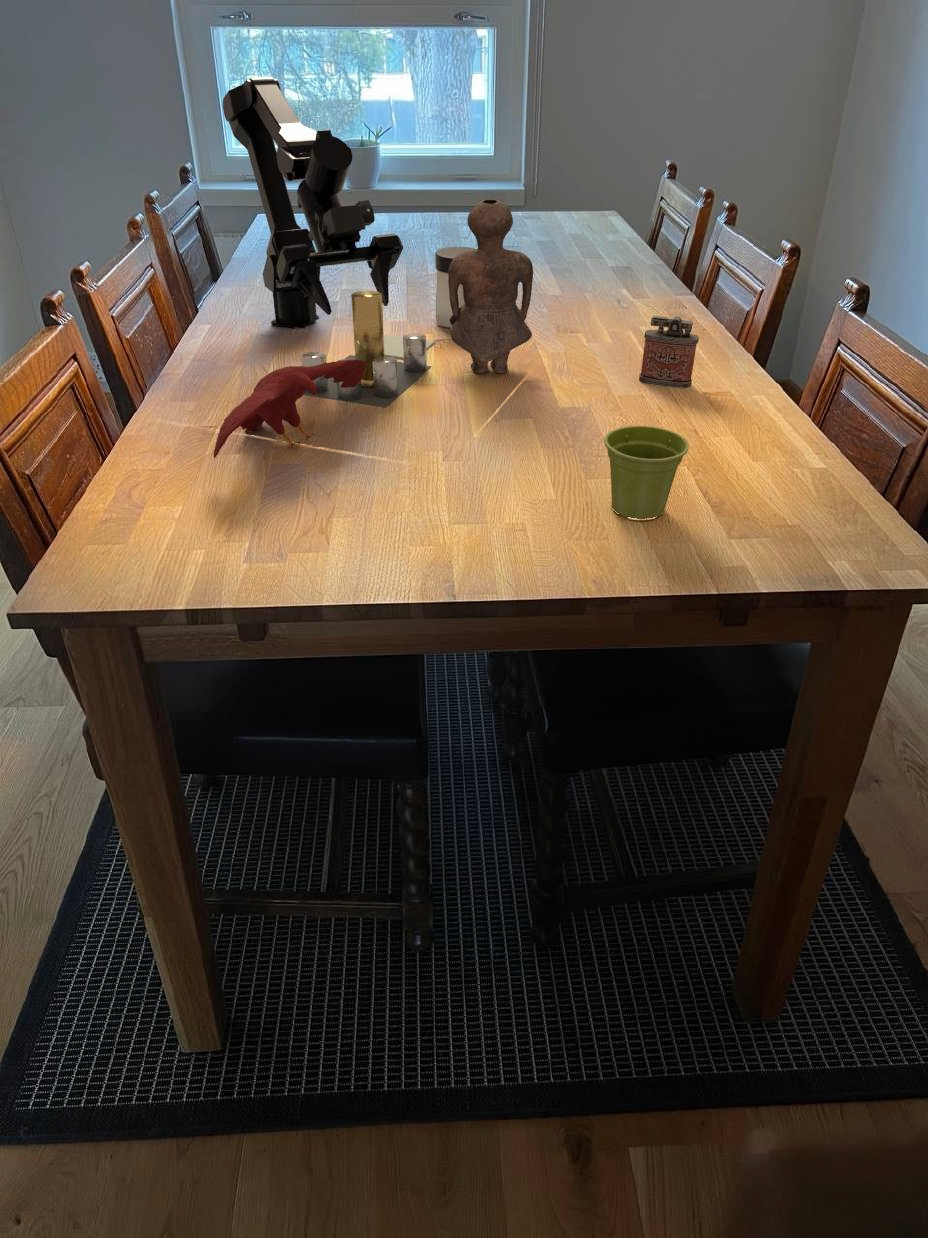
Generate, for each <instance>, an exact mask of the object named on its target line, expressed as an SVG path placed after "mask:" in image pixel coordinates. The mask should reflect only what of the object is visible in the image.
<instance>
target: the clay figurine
mask: <svg viewBox="0 0 928 1238" xmlns="http://www.w3.org/2000/svg"><path fill="white" fill-rule="evenodd" d="M466 219H467V226H468V229H469V230H470V232H472V235H474V237H475V239H476V243H477V248H476V249H477V250H473V251H467V252H463V253H460V254H458V255H457V256H456V257H455V258H454V259H453V260H452V262H451V264H450V266H449V272H448V284H449V298H450V305H451V309H452V313H453V315H452V316H451V318H450V323H451V324H452V327H451V328H450V330H449V331H450V338H451V340H452V342H453V343H454V344H455V345H457V346H458V347H460V348H461V349H462V350H463V351H466V352H467V353H469V354H470V357H471V360H472V363H471V364H470V368H471V370H472V371H473V372H474V373H476V374H484V373H487V372H488V371H489V364H490V366H491V367H492V368H493V373H495V374H505V373H507V372H508V359H509V356H510V353H511V351H512V350H514V349H516V348H518V347H519V346H521V345H523V344H525V343H527V342H528V341H529V340H531V338H532V337H533V332H532V330H531V329H530V327H529V326H528V325H527V323H526V321H525V320H526V319H527V316H528V312H529V308H530V305H531V300H532V298H531V297H532V291H533V289H532V288H533V280H534V267H533V263H532V261H531V259H530V257H528V255H526V254H525V253H523V252H521V251H517V250H510V249H506V248H505V247H504V240H505V238H506V236H507V234H508V233H509V232H510V231H511V229H512V226H513V224H514V219H513V214H512V212H511V210H510V208H509V206H508V205H506V204H505V203H504V202H502V201H501V200H498V199H494V198H492V199H489V198H488V199H484V200H481V201H479V202H478V203H476V204H475V205H474V206H473V207H472V208H471V209H470V212H469V214H468V215H467V218H466ZM520 283H521V285H522V296H521V297H522V298H521V306H520V307H521V308H519V307H518V305H517V299H518V296H519V291H518V290H519V284H520ZM460 284H462V286H463V297H464V302H465V303H464V305H463V306H462V307H460V308H459V299H458V287H459V285H460ZM489 362H490V363H489Z"/></svg>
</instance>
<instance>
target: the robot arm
mask: <svg viewBox="0 0 928 1238" xmlns="http://www.w3.org/2000/svg"><path fill="white" fill-rule="evenodd" d="M222 111H223V115H224V118H225V120H226V122H227V123H229V127H230V129H231V132H232V134H233V135H232V136H233V137H234V138H235V139H236V140H237V142H238V143H240V144H241V145H242V146H243V148H244V149H246V150H247V154H248V157H249V160H250V161H249V162H250V164H251V167H252V170H253V171H252V172H253V175H254V179H255V181H256V182H255V183H256V186H257V189H258V193H259V197H260V199H261V204H262V207H263V210H264V213H265V217H266V221H267V225H268V228H269V232H270V236H269V240H268V244H267V248H266V250H265V251H266V260H265V263H264V267H263V269H262V270H263V271H262V278H263V279H262V280H263V283H264V286H265V288H267V290H268V291H271V293H272V301H273V308H274V309H273V310H274V317H275V318H274V319H273V320H271V321H270V324H271V325H272V326H280V327H285V328H292V329H294V328H297V329H304V328H306V327H307V326H309V325H311V324H313V323H314V322H315V321H317V320H319V319H320V316H319V315H317V306H318V307H319V308H320V309H321V310H322V311H323V312H324V313H325V314H326V315H328V316H331V315H332V314H331V313H332V307H331V303H330V301H329V298H328V296H327V294H326V291H325V288H324V286H323V284H322V281H321V267H328V266H338V265H339V266H340V265H345V264H353V263H361V262H366V263H367V266H368V268H369V269H371V271H370V273H369V275H370V279H371V281H372V282H373V285H374V287H375V291H376V292H379V293H381V294H382V306H383V307H387V306H388V305H389V301H390V300H389V298H390V297H389V295H390V294H389V290H390V289H389V273H390V271H391V270H392V269H393V268H395V266H396V264H397V262H398V260H399V258H400V256H401V254H402V252H403V250H404V244H403V242H402V239H401V238H400V237H399V235H397V234H395V233H388V234H386V233H385V234H378V235H373V236H372V238H371V241H370V243H369V245H368V246H361V247H357V244H356V243H359V242H360V240H361V236H362V235H361V234H360V232H361V231H362V230H366V226H371V225H372V224H373V223H374V222H375V218H376V216H375V213H374V209H373V206H372V204H371V202H370V200H369V199H367V200H366V199H363V200H358V201H357V202H356V203H354V205H345V206H342V204H341V202H340V199H339V196H338V194H339V193H340V192H341V191H343V189H344V187H345V183H346V180H347V177H348V173H349V170H350V168H351V165H352V162H353V152H352V148H351V147H350V146H348V144H347V143H346V142H345V141H343V140H341V139H340V138H338V137H336V136H334V135H333V133H332V132H331V131H332V130H331V129H323V130H321V129H320V130H319V129H318V130H317V131H316V130H315V129H312V128H310V127H307V126H304V125H303V124H302V122H301V120H300V119H299V117H298V116H297V114H296V113H295V111H294V110H293V108H292V106H291V105H290V103H289V102H288V100H287V99H286V97H285V96H284V94H283V92H282V89H281V85H280V81H279V80H278V79H277V78H273V77H272V76H269V77H249V79H246V80H244V82H243V83H242V84H239V85H238V86H236V87H234V88H231V89H229V90H228V91H227V92H226V93H225V95H224V97H223V99H222ZM275 144H276V145H275ZM276 146H277V148H276ZM285 180H286V181H288V182H295V181H297V182H298V181H301V182H300V183H299V184H298V187H297V190H296V195H297V207H298V208H299V209H302V212H303V214H304V217H305V220H306V222H307V226H308V228H307V227H306V228H302V227H301V226H300V225H299V224H298V223H297V220H296V217H295V213H294V209H293V205H292V201H291V199H290V195H289V192H288V187H287V184H286V181H285ZM313 242H314V243H313ZM314 245H315V247H314Z"/></svg>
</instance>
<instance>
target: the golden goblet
mask: <svg viewBox="0 0 928 1238" xmlns="http://www.w3.org/2000/svg"><path fill="white" fill-rule="evenodd" d="M350 295H351V311H352V313H351V315H352V327H353V328H352V329H353V345H354V356H355V360H362V361H364V362H366V363H367V366H366V369H365V371H364V374H363V376H362V378H361V385H362V388H366V389H374V383H373V363H372V361H373V359H375V358H378V357H385V355H384V336H385V334H384V311H383V310H384V309H383V303H382V294H381V293H379V292H377V290H358V291H356V292H353V293H352V294H350Z"/></svg>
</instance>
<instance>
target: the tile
mask: <svg viewBox="0 0 928 1238" xmlns="http://www.w3.org/2000/svg"><path fill="white" fill-rule="evenodd" d="M434 344H435V341H434V340H429V339H426V351H427V350H428V349H429V348H431V347H432V346H433V345H434ZM384 355H385V357H393V358H395V359H397V360H399V359H400V360H404V356H403V336H399V335H391V334H384Z"/></svg>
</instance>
